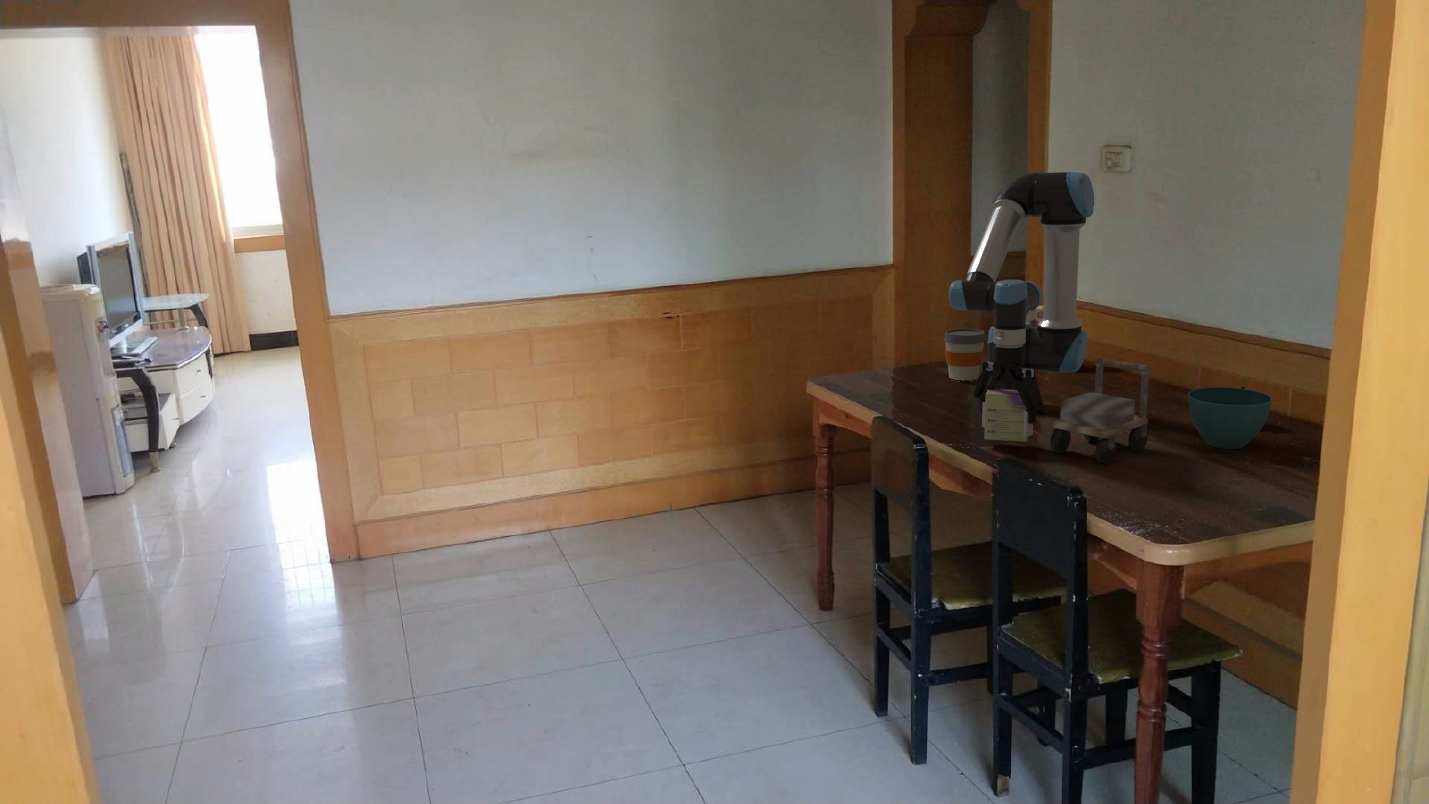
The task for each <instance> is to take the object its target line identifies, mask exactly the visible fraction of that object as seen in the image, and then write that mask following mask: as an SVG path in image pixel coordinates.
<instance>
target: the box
mask: <svg viewBox="0 0 1429 804" xmlns="http://www.w3.org/2000/svg"><path fill="white" fill-rule="evenodd" d="M1025 410H1027V408H1026V406H1025V404H1024V403H1023V401H1022V399H1021V397H1020V395H1019V393H1018V391H1017V390H1002V389H992V390H987V392H986V399H985V428H984V440H988V441H989V440H992V441H1007V442H1009V441H1010V442H1021V443H1022V442H1024V443H1028V441H1029V437H1030V436H1028V437H1023V430H1024V411H1025Z"/></svg>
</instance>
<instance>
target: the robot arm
mask: <svg viewBox="0 0 1429 804" xmlns="http://www.w3.org/2000/svg"><path fill="white" fill-rule="evenodd" d="M1094 207H1095V193H1094V187H1093V182H1092V180H1091V178H1090V177H1089V176H1088V174H1086V173H1084V172H1077V171H1076V172H1075V171H1064V172H1062V171H1061V172H1060V171H1059V172H1028V173H1025V174H1022V175H1020V176H1017V177H1016V178H1013V180H1011V181H1010V182H1008V183H1007V184H1006V185H1004V186H1003V188H1002V189H1000V191H999V192H998V193H997V195H996V196H995V198H994V199H993V201H992V203H991V206H990V207H989V216H990V217H989V219H988V222H987V224H986V228H985V229H984V232H983V234H982V236H981V239H980V241H979V244H978V246H977V248H976V250H975V253H974V256H973V258H972V260H971V263H970V265H969V267H968V271H967V273H966V275H965V276H964V277H965V278H964V280H963V279H958V280H953V282H952V283H951V284H950V286H949V288H948V289H949V290H948V302H949V305H950V307H951V308H952V309H953V310H957V311H958V310H959V311H965V312H988V313H989V312H990V313H991V312H992V313H993V326H991V327H990V328H989V330H988V337H987V338H988V339H987V342H986V343H987V361H984V362H982V364H981V366H982V369H981V373H980V375H979V377H978V380H977V383H976V387H975V390H974V392H973V398H977V399H978V400H979V402H980V404H979V406H980V407H979V408H980V409H979V411H980V414H982V418H981V419H982V420H981V422H982V423H981V427H982V428H983V429H985V399H986V392H987V390H992V389H1002V390H1017V391H1018V393H1019V395H1020V397H1021V399H1022V401H1023V403H1024V404H1025V406H1026V408H1027V410H1025V411H1024V430H1023V437H1028V436H1029V437H1030V436H1033V434H1034V433H1033V432H1034V424H1035V423H1036V419H1037V411H1038V410H1041V409H1043V408H1044V407H1045V405H1044V401H1043V398H1042V395H1041V391H1040V388H1039V384H1038V381H1037V378H1036V376H1037V375H1036V371H1044V372H1053V373H1054V372H1055V373H1060V374H1062V373H1071V374H1072V373H1076V372H1077V371H1079V370H1080V369H1081V367H1082V365H1083V363H1084V361H1085V358H1086V353H1087V349H1088V344H1089V334H1088V332H1087V331H1085V330H1082V327H1083V325H1082V322H1081V321H1080V320H1079V319H1077V304H1078V303H1077V302H1078V301H1077V300H1078V299H1077V298H1078V279H1079V278H1078V275H1079V255H1080V253H1079V252H1080V251H1079V250H1080V233H1081V232H1080V231H1081V229H1082V228H1084V226H1085V225H1086V223H1087V219H1088V218H1090V217H1092V216H1093V213H1094V210H1095V209H1094ZM1028 217H1029V218H1030V217H1034V218H1035V217H1036V218H1037V217H1040V225H1041V227H1043V229H1044V230H1045V251H1044V253H1045V254H1044V281H1043V283H1044V284H1043V286H1044V288H1043V290H1042V288H1041V287H1040V285H1038V284H1037V283H1036V282H1034V281H1032V280H1027V281H1025V280H1021V279H1004V280H999V281H997V278H998V275H999V274H1000V271H1001V268H1002V266H1003V263H1004V261H1005V260H1006V256H1007V253H1008V251H1009V249H1010V246H1011V244H1012V241H1013V239H1014V236H1015V235H1016V232H1017V230H1018V227H1019V226H1021V225H1022V224H1023V223H1024V222H1025V220H1026V218H1028ZM1042 301H1043V302H1042ZM1042 303H1043V306H1044V310H1043V318H1042V319H1041V320H1040V321H1039V322H1038V323H1037V328H1031V327H1032V325H1031V323H1030V322H1026V314H1027V313H1029V312H1032V311H1034V310H1035V309H1036V308H1037V307H1038V306H1041V304H1042ZM1029 437H1028V438H1029Z"/></svg>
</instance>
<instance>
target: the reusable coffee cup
mask: <svg viewBox="0 0 1429 804" xmlns="http://www.w3.org/2000/svg"><path fill="white" fill-rule="evenodd" d="M985 336H986V335H985V331H984V330H981V329H976V328H953V329H949V330H946V331H945V332H944V339H943V340H944V342H945V343H944V344H945V349H944V353H945V354H944V355H945V363H946V364H947V367H948V379H949V378H951V379H954V380H962V381H964V380H973V379H976V378H978V379H979V378H980V368H981V366H982V365H983V358H984V352H985V351H984V350H985V349H984V343H985V342H986V337H985Z"/></svg>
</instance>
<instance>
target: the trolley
mask: <svg viewBox="0 0 1429 804" xmlns="http://www.w3.org/2000/svg"><path fill="white" fill-rule="evenodd" d="M1095 366H1096V367H1095V382H1094V383H1095V385H1094V392H1093V391H1088V392H1085V393H1081V394H1078V395H1076V396H1072V397H1069V398H1066V399H1063V400H1060V418H1059V419H1055V420H1053V421H1052V434H1051V437H1050V442H1049V443H1050V449H1051V450H1052V451H1053V452H1054V453H1058V454H1063V453H1065V452H1066V451H1067V450H1068V449H1069V448H1070V444H1071V440H1072V439H1071V438H1072V437H1071V432H1073V433H1078V434H1083V437H1084V439H1085V440H1086V441H1089V442H1093V443H1094V442H1097V441H1098V442H1097V443H1096V447H1095V455H1094V456H1095V459H1096V461H1097V462H1098V463H1100V464H1101V463H1102V464H1105V465H1108V464H1110V463H1111V462H1112V461H1113V460H1114V458H1115V455H1116V450H1117V444H1116V441H1115V439H1116V437H1115V436H1117V435H1120V434H1122V433H1126V432H1129V431H1130V432H1129V434H1128V440H1127V443H1128V447H1129V449H1130V450H1132V451H1136V452H1141V451H1143V450H1144V448H1145V447H1146V446H1147V442H1148V441H1149V439H1148V438H1149V432H1148V422H1149V421H1148V418H1149V417H1147V409H1148V398H1149V397H1148V396H1149V381H1150V370H1151V367H1150V365H1147V364H1141V363H1134V362H1126V361H1121V360H1120V361H1119V360H1114V359H1107V358H1100V357H1099V358H1098V357H1097V358H1096V359H1095ZM1104 366H1105V367H1111V368H1118V369H1125V370H1131V371H1135V372H1136V371H1137V372H1141V376H1140V377H1141V380H1140V393H1139V394H1140V395H1139V407H1138V408H1139V409H1138V410H1139V412H1138V415H1137V414H1135V409H1136V408H1135V406H1136V399H1132V398H1126V397H1125V398H1124V397H1120V396H1114V395H1108V394H1104V393H1103V379H1104V377H1103V376H1104Z"/></svg>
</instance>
